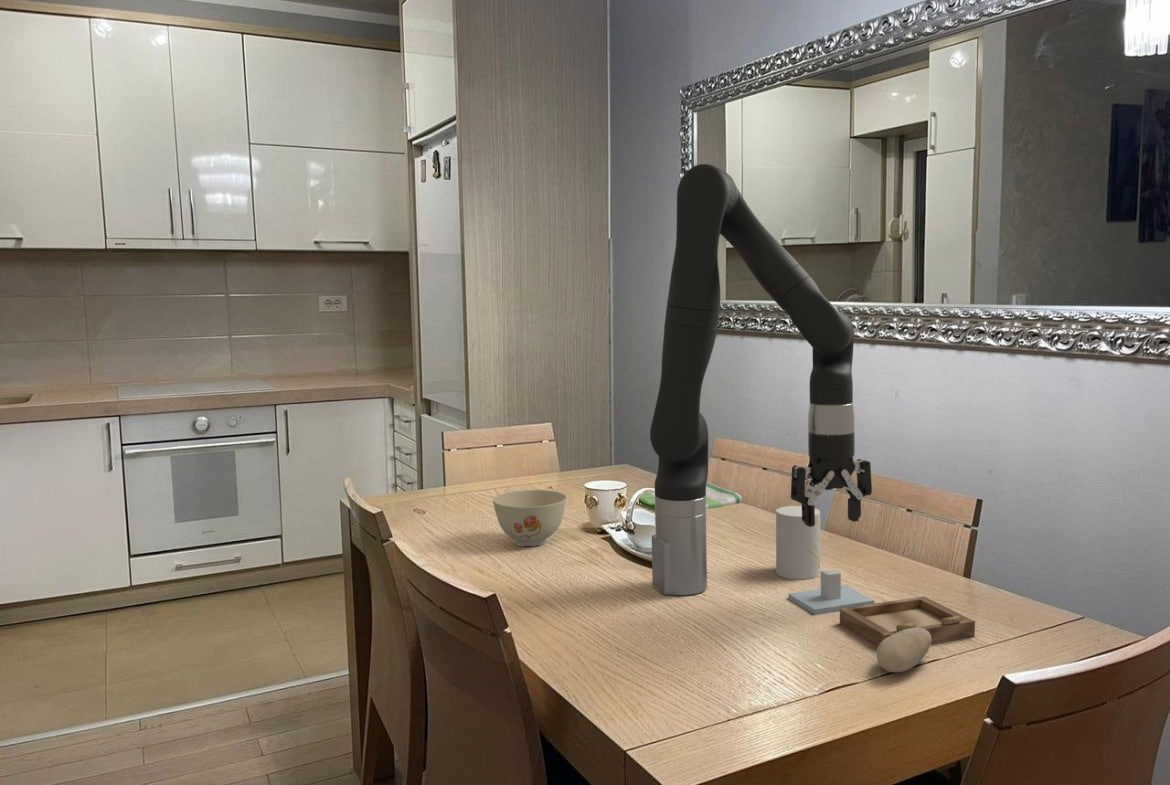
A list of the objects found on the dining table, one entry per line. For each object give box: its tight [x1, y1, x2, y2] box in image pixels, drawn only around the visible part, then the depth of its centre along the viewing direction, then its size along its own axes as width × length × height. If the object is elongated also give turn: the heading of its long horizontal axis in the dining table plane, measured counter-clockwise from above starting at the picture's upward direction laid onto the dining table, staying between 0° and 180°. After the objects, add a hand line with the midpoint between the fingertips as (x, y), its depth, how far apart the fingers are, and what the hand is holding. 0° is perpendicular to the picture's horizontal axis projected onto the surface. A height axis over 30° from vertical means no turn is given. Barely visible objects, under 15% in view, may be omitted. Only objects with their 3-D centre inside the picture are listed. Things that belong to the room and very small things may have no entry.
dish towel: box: [638, 481, 743, 511], centre depth 227 cm, size 17×23×4 cm
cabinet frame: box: [839, 595, 976, 647], centre depth 140 cm, size 16×12×3 cm
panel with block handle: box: [787, 568, 875, 616], centre depth 153 cm, size 12×8×6 cm
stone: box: [876, 628, 932, 673], centre depth 127 cm, size 6×6×12 cm
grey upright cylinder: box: [775, 505, 821, 581], centre depth 168 cm, size 8×8×12 cm
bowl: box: [492, 489, 567, 547], centre depth 193 cm, size 16×16×10 cm
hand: (831, 523), depth 151 cm, fingers open, 8 cm apart
